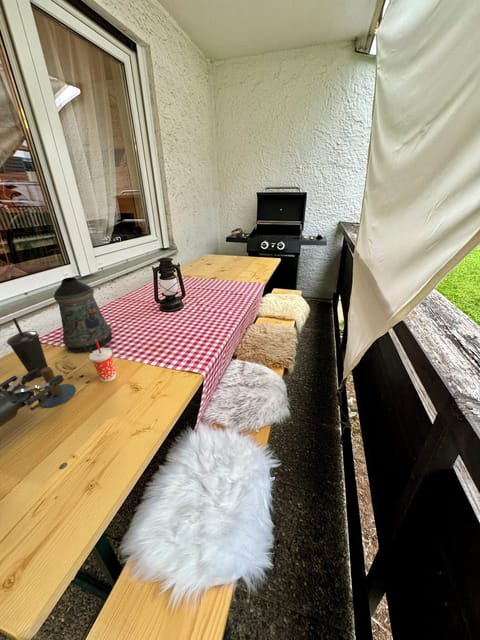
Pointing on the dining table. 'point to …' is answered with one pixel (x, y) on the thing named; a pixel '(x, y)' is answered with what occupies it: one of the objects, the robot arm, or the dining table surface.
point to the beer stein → (81, 317)
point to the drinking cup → (28, 349)
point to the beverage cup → (103, 363)
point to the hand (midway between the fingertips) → (50, 373)
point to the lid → (57, 390)
